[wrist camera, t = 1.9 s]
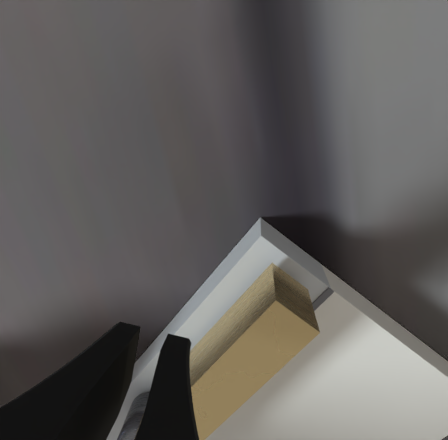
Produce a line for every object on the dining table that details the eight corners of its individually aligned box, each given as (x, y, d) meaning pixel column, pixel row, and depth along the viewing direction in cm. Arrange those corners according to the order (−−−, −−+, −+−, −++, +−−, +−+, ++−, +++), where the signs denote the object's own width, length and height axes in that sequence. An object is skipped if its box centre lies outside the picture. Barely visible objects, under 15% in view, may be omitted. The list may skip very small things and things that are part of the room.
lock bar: (163, 441, 19) (145, 505, 16) (120, 414, 19) (93, 474, 16) (314, 292, 15) (328, 339, 12) (264, 255, 15) (267, 293, 12)
